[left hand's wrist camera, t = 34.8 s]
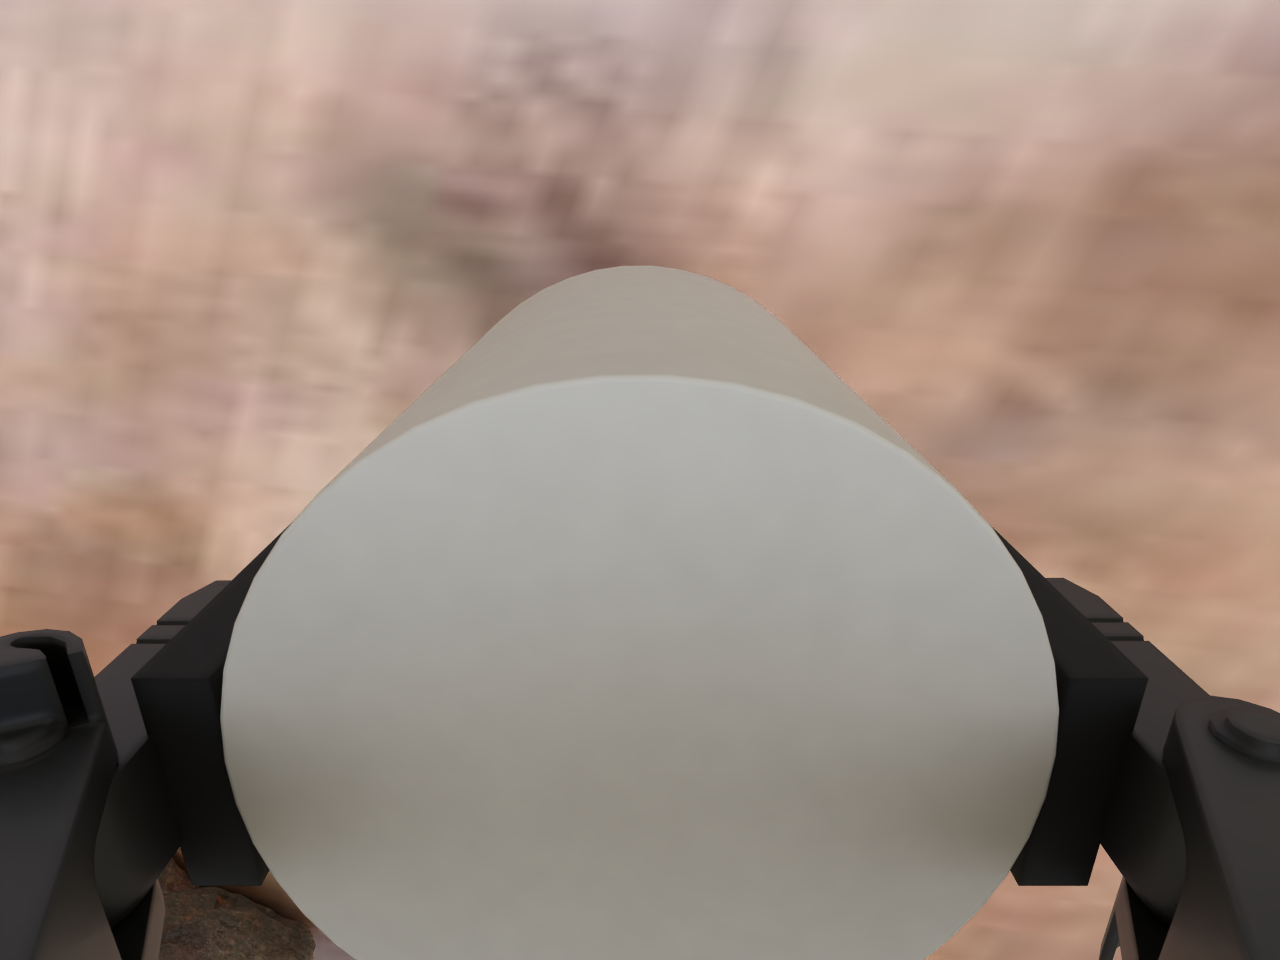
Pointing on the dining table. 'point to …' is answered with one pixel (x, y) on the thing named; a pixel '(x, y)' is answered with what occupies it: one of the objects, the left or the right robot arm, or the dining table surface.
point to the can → (639, 658)
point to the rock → (224, 925)
